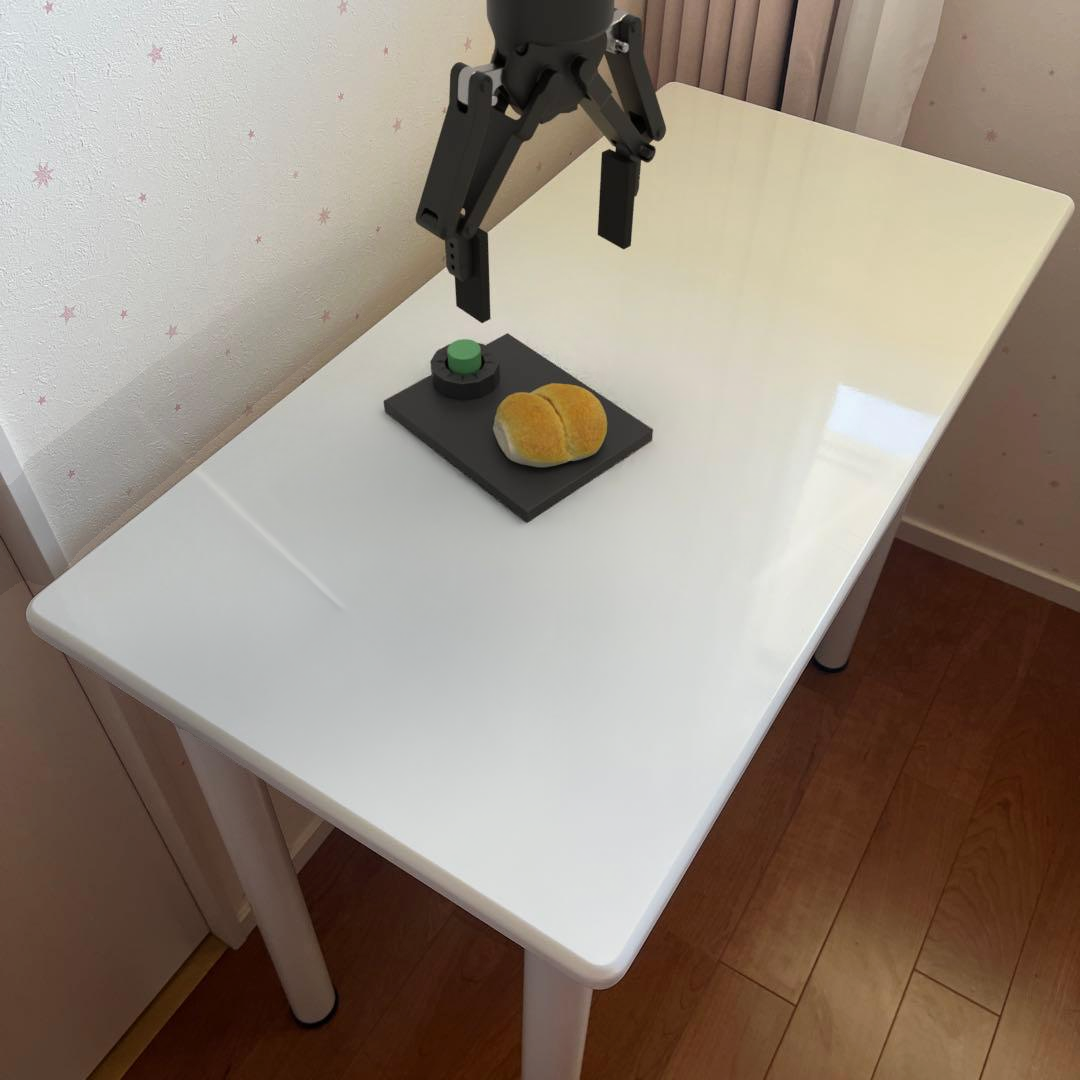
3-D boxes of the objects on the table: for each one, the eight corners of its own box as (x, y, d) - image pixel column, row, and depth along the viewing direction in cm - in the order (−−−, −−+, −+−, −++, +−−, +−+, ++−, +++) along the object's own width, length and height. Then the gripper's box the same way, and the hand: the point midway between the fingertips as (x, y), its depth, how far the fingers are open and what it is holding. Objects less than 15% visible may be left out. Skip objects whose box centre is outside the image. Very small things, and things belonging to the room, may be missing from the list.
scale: (382, 409, 94) (378, 381, 92) (505, 341, 100) (504, 314, 98) (527, 523, 85) (526, 495, 82) (652, 440, 91) (655, 412, 89)
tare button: (441, 364, 94) (440, 348, 93) (466, 351, 95) (465, 334, 94) (463, 380, 92) (461, 363, 91) (488, 366, 94) (487, 349, 92)
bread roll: (622, 453, 88) (624, 415, 85) (517, 482, 86) (516, 444, 83) (581, 392, 93) (582, 354, 91) (481, 418, 91) (479, 380, 88)
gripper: (419, 33, 55) (443, 372, 70) (743, -80, 67) (703, 233, 82) (332, -11, 59) (372, 321, 74) (653, -110, 71) (631, 194, 86)
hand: (546, 275), depth 78 cm, fingers open, 13 cm apart
